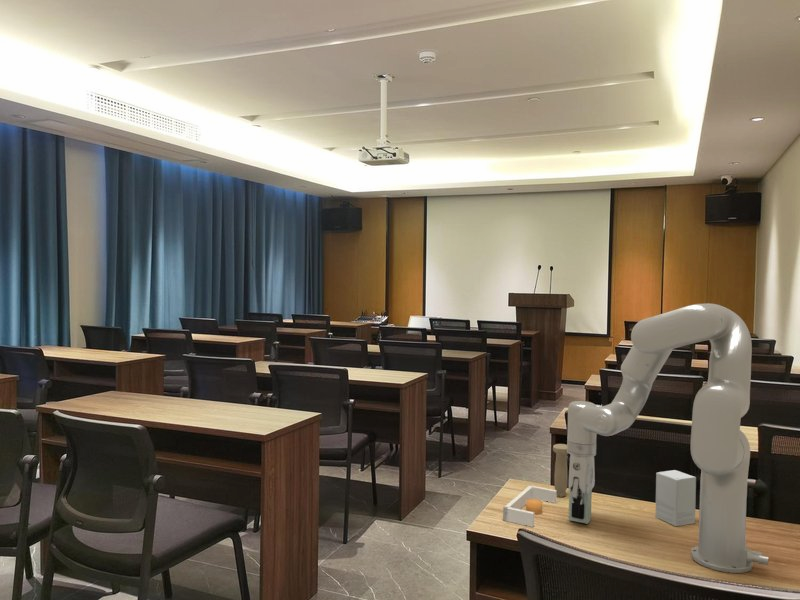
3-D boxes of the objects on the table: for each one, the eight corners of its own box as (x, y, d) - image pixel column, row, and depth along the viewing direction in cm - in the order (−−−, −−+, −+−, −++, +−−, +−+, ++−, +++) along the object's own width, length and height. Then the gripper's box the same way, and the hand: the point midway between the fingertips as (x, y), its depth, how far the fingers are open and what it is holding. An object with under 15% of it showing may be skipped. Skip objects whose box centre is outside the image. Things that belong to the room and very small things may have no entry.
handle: (570, 494, 184) (572, 445, 184) (566, 500, 178) (567, 450, 178) (555, 491, 186) (556, 443, 186) (549, 497, 180) (551, 447, 180)
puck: (544, 511, 169) (544, 500, 169) (539, 516, 165) (539, 505, 165) (529, 508, 171) (529, 497, 171) (523, 512, 168) (524, 502, 167)
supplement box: (696, 523, 162) (697, 477, 162) (675, 527, 159) (676, 479, 159) (674, 513, 169) (675, 469, 169) (654, 517, 166) (655, 471, 166)
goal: (556, 502, 176) (556, 490, 176) (532, 527, 157) (533, 513, 157) (529, 496, 180) (529, 485, 180) (503, 520, 161) (503, 507, 161)
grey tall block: (591, 519, 162) (591, 489, 162) (587, 523, 159) (588, 493, 159) (572, 515, 165) (573, 486, 165) (568, 519, 161) (569, 490, 161)
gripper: (588, 457, 152) (586, 528, 153) (602, 443, 167) (601, 508, 167) (559, 452, 156) (557, 522, 157) (575, 439, 171) (573, 503, 171)
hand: (579, 514), depth 162 cm, fingers closed on grey tall block, 4 cm apart
